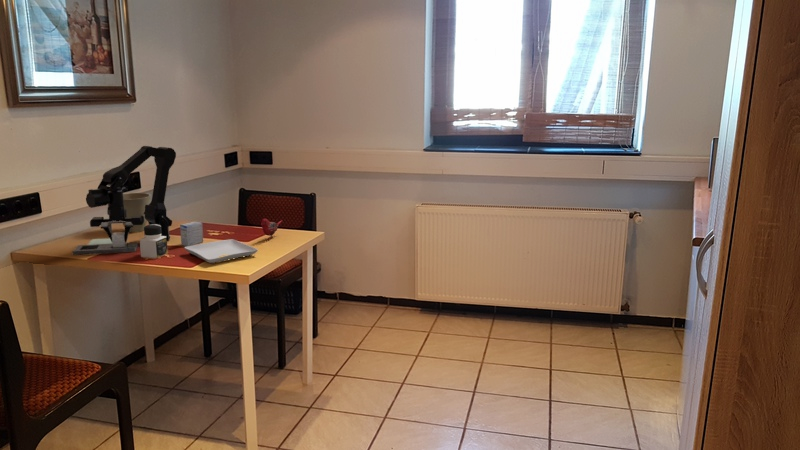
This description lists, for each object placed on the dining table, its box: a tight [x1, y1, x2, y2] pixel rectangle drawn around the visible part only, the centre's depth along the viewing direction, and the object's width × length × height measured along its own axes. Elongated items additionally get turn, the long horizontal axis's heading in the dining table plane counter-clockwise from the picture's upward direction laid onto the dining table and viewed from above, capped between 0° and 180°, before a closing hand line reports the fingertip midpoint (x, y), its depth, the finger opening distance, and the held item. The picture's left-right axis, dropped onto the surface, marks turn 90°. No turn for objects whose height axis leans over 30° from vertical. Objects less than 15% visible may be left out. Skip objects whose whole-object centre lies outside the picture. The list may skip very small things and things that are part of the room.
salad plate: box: [183, 238, 259, 264], centre depth 230 cm, size 21×21×3 cm
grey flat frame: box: [72, 241, 139, 256], centre depth 234 cm, size 22×9×2 cm, turn 106°
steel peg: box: [112, 231, 128, 248], centre depth 234 cm, size 4×4×6 cm
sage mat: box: [87, 237, 112, 245], centre depth 244 cm, size 13×10×1 cm
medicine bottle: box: [139, 224, 169, 259], centre depth 227 cm, size 7×7×12 cm
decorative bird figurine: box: [260, 218, 283, 241], centre depth 256 cm, size 3×18×10 cm, turn 161°
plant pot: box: [122, 192, 151, 233], centre depth 263 cm, size 15×15×16 cm
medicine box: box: [179, 221, 204, 247], centre depth 245 cm, size 8×4×9 cm, turn 149°
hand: (119, 242), depth 234 cm, fingers closed on steel peg, 4 cm apart
